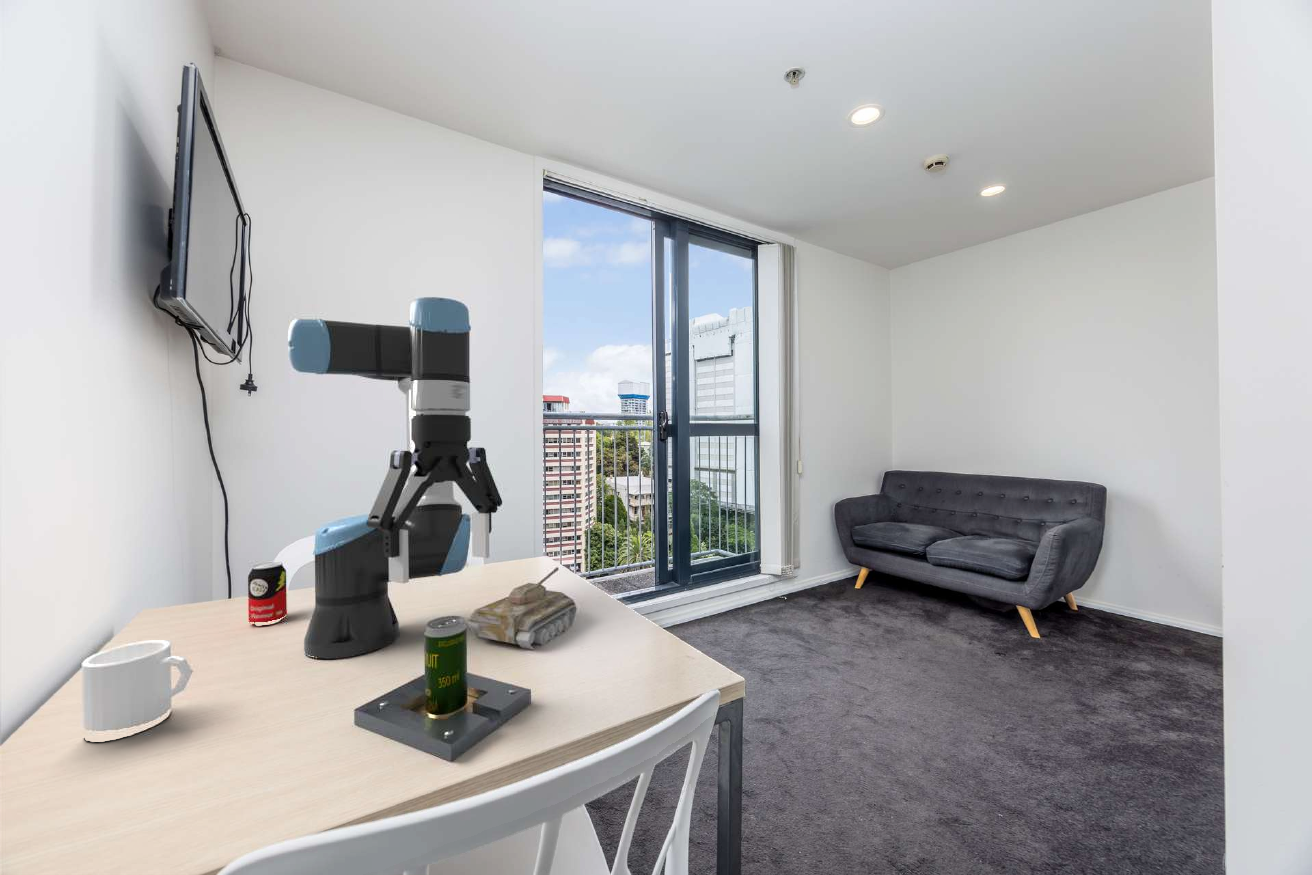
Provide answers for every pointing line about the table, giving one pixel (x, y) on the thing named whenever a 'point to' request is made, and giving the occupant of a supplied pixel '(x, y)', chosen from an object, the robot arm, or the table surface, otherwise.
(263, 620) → the beverage can
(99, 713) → the mug
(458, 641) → the beer can
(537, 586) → the toy tank
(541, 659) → the table surface
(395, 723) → the chassis plate
